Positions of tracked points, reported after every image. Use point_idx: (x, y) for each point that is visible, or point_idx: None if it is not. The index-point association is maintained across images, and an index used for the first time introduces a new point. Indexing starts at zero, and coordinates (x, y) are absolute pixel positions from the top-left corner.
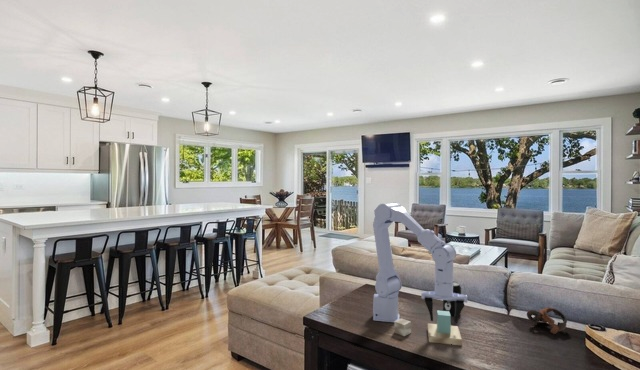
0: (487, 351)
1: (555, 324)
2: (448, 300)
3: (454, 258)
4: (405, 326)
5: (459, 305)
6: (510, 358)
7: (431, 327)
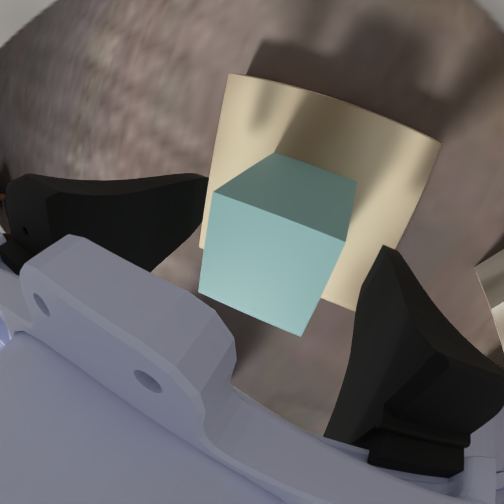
0: (147, 35)
1: None
2: None
3: None
4: None
5: (37, 182)
6: (97, 5)
7: (364, 260)
